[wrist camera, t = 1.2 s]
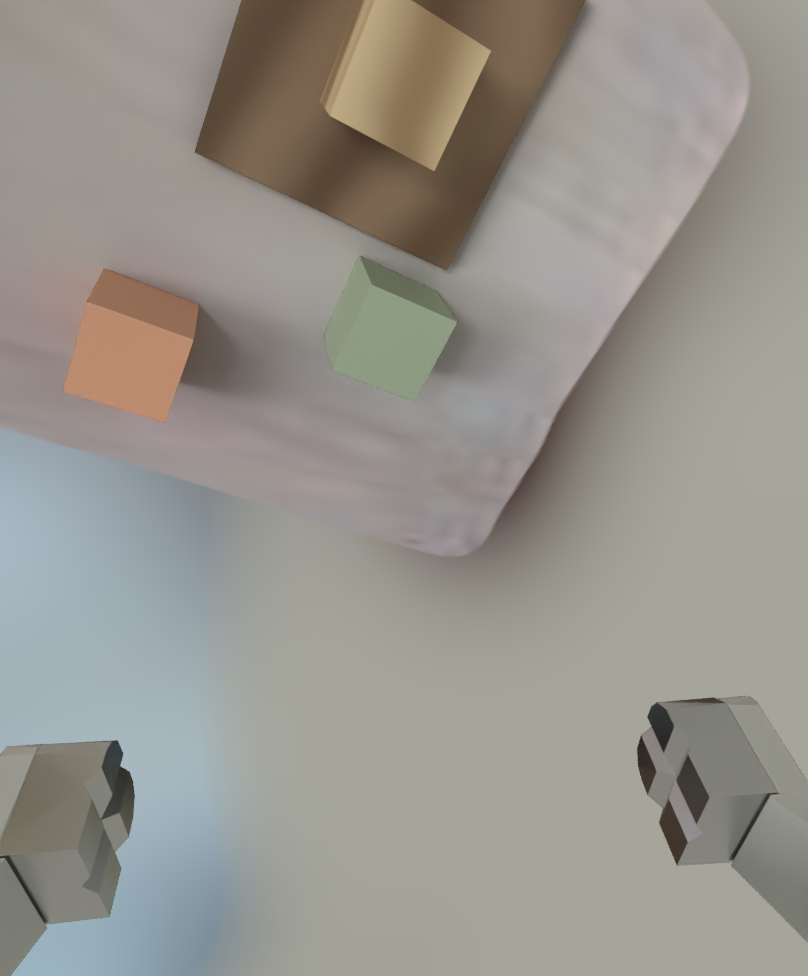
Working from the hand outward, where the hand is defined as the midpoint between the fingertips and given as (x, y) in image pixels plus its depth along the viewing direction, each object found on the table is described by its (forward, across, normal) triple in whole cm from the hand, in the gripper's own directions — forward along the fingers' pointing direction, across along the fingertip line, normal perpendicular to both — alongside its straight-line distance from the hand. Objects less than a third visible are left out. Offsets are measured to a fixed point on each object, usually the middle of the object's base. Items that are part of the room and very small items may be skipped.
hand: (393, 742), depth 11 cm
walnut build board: (+32, -2, -7) cm, 33 cm away
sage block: (+32, -2, +5) cm, 33 cm away
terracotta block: (+31, +11, +5) cm, 34 cm away
